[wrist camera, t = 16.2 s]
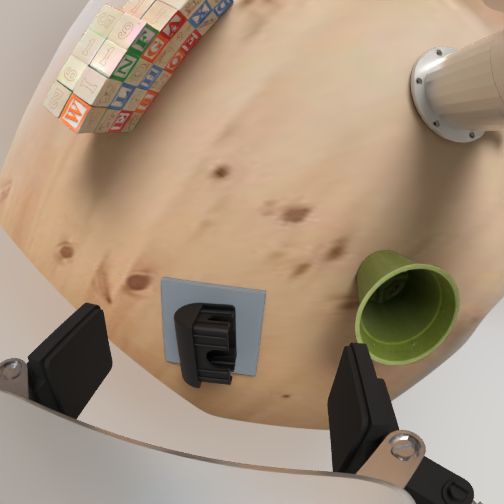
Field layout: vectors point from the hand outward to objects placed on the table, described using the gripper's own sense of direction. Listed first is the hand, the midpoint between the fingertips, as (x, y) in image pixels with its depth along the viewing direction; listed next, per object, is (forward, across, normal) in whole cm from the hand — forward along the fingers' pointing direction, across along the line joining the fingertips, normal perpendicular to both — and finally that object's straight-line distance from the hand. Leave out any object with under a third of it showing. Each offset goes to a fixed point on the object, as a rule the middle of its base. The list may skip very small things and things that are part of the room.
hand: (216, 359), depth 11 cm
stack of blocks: (+29, +15, -19) cm, 37 cm away
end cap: (+28, +6, +18) cm, 33 cm away
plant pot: (+28, -16, +7) cm, 33 cm away
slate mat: (+28, +6, +18) cm, 34 cm away
